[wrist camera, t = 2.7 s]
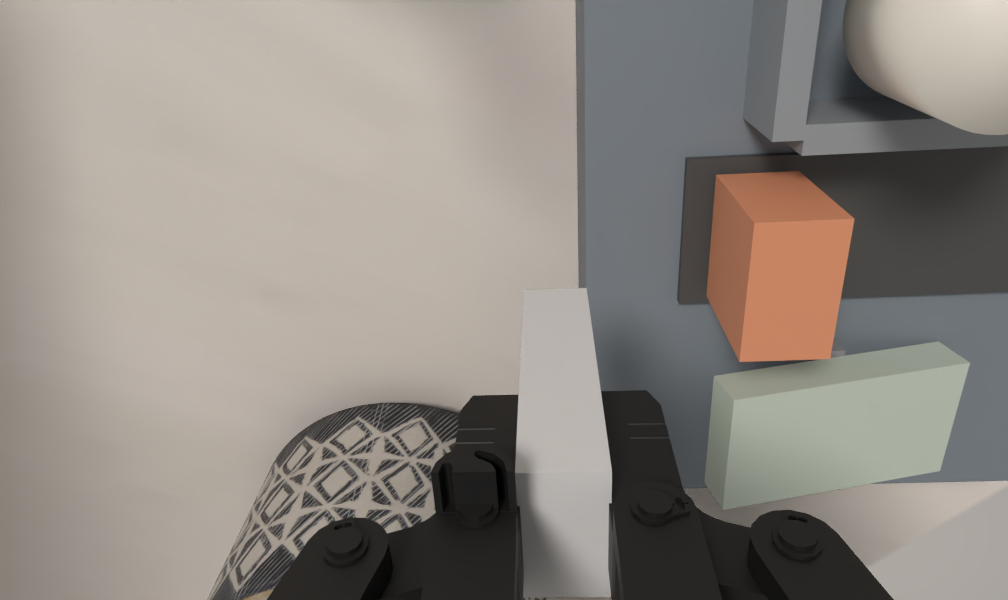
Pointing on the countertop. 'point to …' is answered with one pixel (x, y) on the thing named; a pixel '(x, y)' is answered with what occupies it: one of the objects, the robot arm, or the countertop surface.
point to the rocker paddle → (831, 423)
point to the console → (778, 148)
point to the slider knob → (777, 265)
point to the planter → (339, 487)
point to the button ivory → (935, 57)
